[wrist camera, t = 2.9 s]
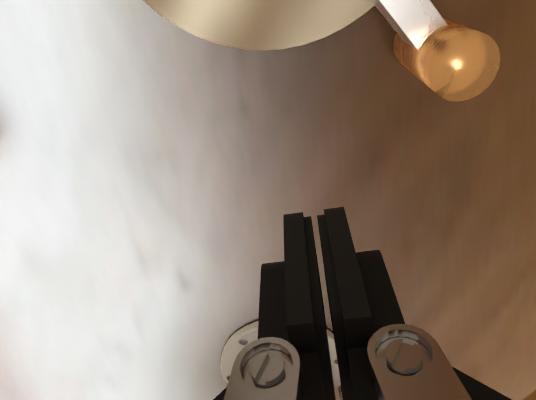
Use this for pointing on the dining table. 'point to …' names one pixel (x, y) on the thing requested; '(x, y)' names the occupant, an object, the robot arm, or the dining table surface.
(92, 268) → the dining table surface
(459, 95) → the crank handle
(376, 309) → the robot arm
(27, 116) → the dining table surface
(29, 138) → the dining table surface
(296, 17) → the base plate
